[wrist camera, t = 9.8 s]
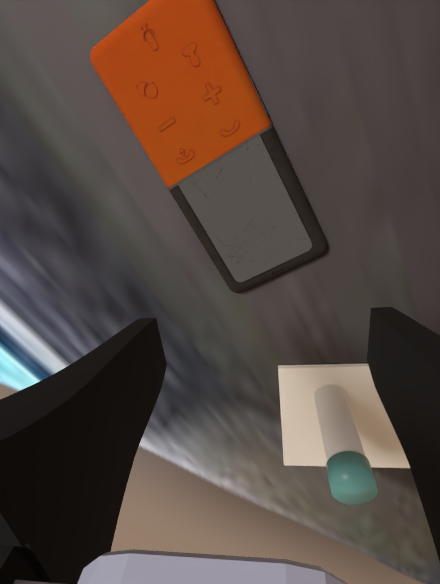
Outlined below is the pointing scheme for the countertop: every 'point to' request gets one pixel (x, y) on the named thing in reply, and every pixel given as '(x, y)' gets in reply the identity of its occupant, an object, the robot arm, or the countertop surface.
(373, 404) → the notepad
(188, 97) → the phone
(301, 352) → the countertop surface
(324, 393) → the marker
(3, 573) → the robot arm
